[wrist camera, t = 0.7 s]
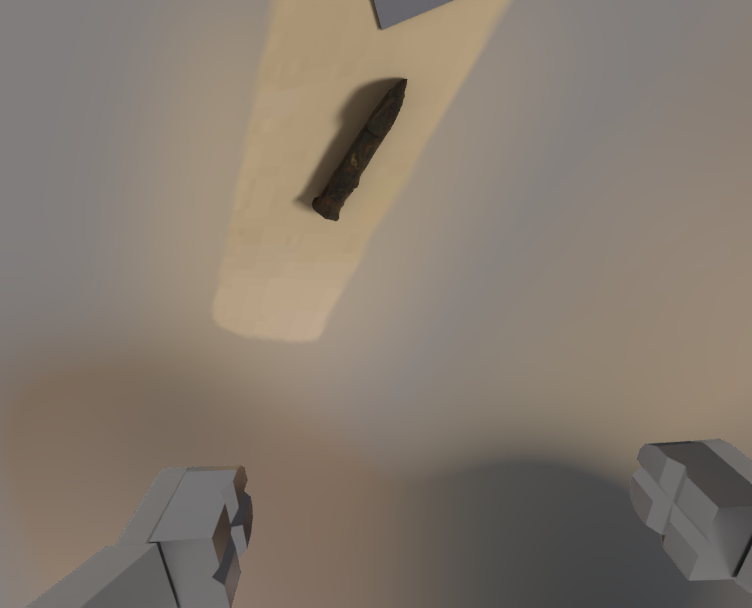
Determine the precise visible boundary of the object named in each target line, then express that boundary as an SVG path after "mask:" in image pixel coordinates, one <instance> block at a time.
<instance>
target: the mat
mask: <svg viewBox="0 0 752 608" xmlns="http://www.w3.org/2000/svg"><path fill="white" fill-rule="evenodd" d="M450 1H453V0H374V3H375V7H376V10H377V14H378V18H379V21H380V25H381V28H382V30H383V29H385V28H388V27H390V26H393V25H395V24H397V23H400V22H402V21H405V20H407V19H409V18H412V17H414V16H417V15H419V14H421V13H424V12H426V11H429V10H431V9H433V8H436V7H438V6H441V5H443V4H445V3H448V2H450Z"/></svg>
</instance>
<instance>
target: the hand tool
mask: <svg viewBox="0 0 752 608" xmlns="http://www.w3.org/2000/svg"><path fill="white" fill-rule="evenodd" d="M406 85H407V79H403V80H402V81H400V82H398V83H397V84H396V85H395V86H394V88H393V89H392V90H390V91H389V92H388V93H387V94H386V96H385V97H384V98H383V100H382V101H381V102H380V104H379V105H378V106H377V107H376V109H375V110H374V111H373V113H372V115H371V116H370V118H369V120H368V122H367V123H366V125H365V126H364V128H363V129H362V131H361V132H360V134H359V135H358V137H357V138H356V140H355V142H354V143H353V145H352V146H351V148H350V149H349V151H348V153H347V154H346V156H345V157H344V159H343V161H342V162H341V164H340V165H339V166H338V168H337V169H336V171H335V172H334V174H333V176H332V178H331V179H330V181H329V183H328V185H327V186H326V187H325V189H324V191H323V193H322V194H321V196H319V197H316V198H314V200H313V202H312V207H313V209H314V210H315V211H316V212H317V213H319V214H320V215H321V216H323V217H324V218H325V219H330V220H334V221H337V220H338V219H339V212H340V209H341V207H342V206H343V205H344V202H345V200H346V199H347V198H348V196H349V195H350V194H351V193H352V192H353V190H354V188H357V187H358V184H359V180H360V176H361V174H362V173H363V171H364V170H365V168H366V167H367V165H368V163H369V162H370V160H371V158H372V156H373V155H374V153H375V152H376V150H377V148H378V147H379V145H380V144H381V143H382V141H383V140H384V138H385V136H386V135H387V133H388V132H389V130H390V129H391V127H392V125H393V124H394V122H395V120H396V117H397V115H398V113H399V111H400V108H401V106H402V104H403V103H402V102H403V99H404V97H405V94H404V92H405V88H406Z"/></svg>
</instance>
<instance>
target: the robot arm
mask: <svg viewBox="0 0 752 608" xmlns="http://www.w3.org/2000/svg"><path fill="white" fill-rule="evenodd" d="M637 460H638V461H639V463H640V465H641V466H642V467H641V468H640V469H639V470H637V471H636V472H635V473H634V474H633V475H632V478H631V482H630V486H629V489H630V495H631V500H632V503H633V506H634V508H635V510H636V512H637V513H638V515H639V516H640V518H641V519H642V520H643V522H644V523H645V524H646V525H647V526H649V527H650V528H652V529H653V530H655V531H656V532H658V533H660V534H661V538H662V547H663V548H664V549H665V551H666V552H667V553H668V554H669V556H670V557H671V558H672V560H673V561H674V562H675V564H676V565H677V566H678V567H679V568H680V570H681V571H682V573H683V574H684V575H685V576H686V578H687V579H688V580H713V579H714V580H717V579H736V580H735V582H736V583H737V584H739V585H740V586H742V587H743V588H744V589H745V590H747V591H748V592H750V593H751V594H752V460H751V459H749V458H748V457H747V456H746V455H744V454H743V453H742V452H741V451H739V450H738V449H737V448H736V447H734V446H733V445H732V444H730V443H728V442H726V441H723V440H721V439H710V440H695V441H681V442H666V443H649V444H645V445H644V446H643V447H642V448H641V449H640V451H639V454H638V457H637ZM246 483H247V475H246V471H245V467H243V466H241V465H238V466H237V465H236V466H200V467H188V468H165V469H164V470H162V471H161V472H160V473H159V474H158V475H157V476H156V478H155V480H154V481H153V483H152V485H151V486H150V488H149V490H148V491H147V493H146V495H145V496H144V498H143V500H142V501H141V503H140V505H139V506H138V508H137V509H136V511H135V513H134V514H133V516H132V518H131V519H130V521H129V523H128V524H127V526H126V527H125V529H124V531H123V532H122V534H121V536H120V537H119V539H118V541H117V542H116V544H115V545H114V546H106V547H104V548H103V549H101V550H100V551H99V552H97V553H96V554H95V555H93V556H92V557H91V558H90V559H88V560H87V561H86V562H84V563H83V564H82V565H80V566H79V567H78V568H76V569H75V570H74V571H72V572H71V573H70V574H69V575H67V576H66V577H65V578H63V579H62V580H61V581H59V582H58V583H57V584H55V585H54V586H53V587H52V588H50V589H49V590H48V591H46V592H45V593H44V594H42V595H41V596H40V597H38V598H37V599H36V600H35V601H33V602H32V603H30V604H29V605H28V606H27V607H25V608H231V607H232V603H233V600H234V596H235V592H236V589H237V585H238V581H239V578H240V574H241V570H240V566H239V560H238V558H239V557H240V556H241V555H242V554H243V553H244V552H245V550H247V548H248V544H249V540H250V536H251V530H252V521H253V509H252V508H253V507H252V500H251V496H249V495H248V494H247V493H246V492H245V491H244V490H245V487H246Z"/></svg>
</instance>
